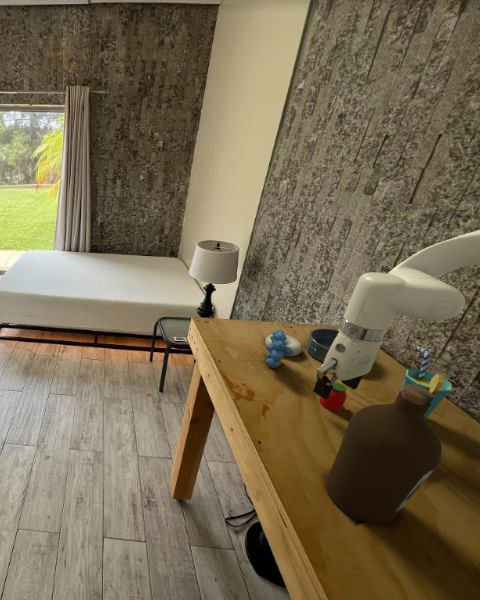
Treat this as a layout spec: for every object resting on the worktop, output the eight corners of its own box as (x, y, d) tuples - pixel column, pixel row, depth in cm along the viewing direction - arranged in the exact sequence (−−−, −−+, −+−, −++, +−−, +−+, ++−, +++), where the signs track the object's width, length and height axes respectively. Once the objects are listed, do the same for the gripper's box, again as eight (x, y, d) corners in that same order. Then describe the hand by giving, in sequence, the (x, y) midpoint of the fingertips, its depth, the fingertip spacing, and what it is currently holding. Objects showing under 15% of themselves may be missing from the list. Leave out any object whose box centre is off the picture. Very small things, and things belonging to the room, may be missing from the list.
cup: (375, 389, 82) (399, 340, 76) (414, 398, 79) (442, 348, 73) (397, 428, 71) (427, 375, 64) (444, 440, 68) (480, 385, 61)
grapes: (289, 382, 85) (301, 345, 80) (260, 375, 88) (271, 338, 83) (286, 359, 95) (298, 324, 89) (261, 353, 97) (270, 319, 92)
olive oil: (317, 503, 56) (370, 394, 46) (324, 462, 64) (372, 360, 53) (398, 546, 50) (482, 432, 39) (396, 495, 57) (466, 387, 46)
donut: (291, 341, 103) (259, 339, 105) (294, 332, 102) (261, 330, 103) (306, 360, 94) (271, 357, 96) (310, 350, 93) (274, 347, 94)
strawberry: (327, 396, 80) (335, 378, 78) (345, 408, 76) (354, 390, 74) (315, 400, 79) (322, 382, 76) (333, 413, 75) (341, 394, 73)
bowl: (327, 337, 105) (331, 324, 103) (379, 363, 92) (386, 349, 90) (293, 347, 100) (297, 333, 98) (343, 375, 87) (349, 360, 85)
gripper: (353, 345, 63) (324, 410, 70) (407, 330, 68) (375, 392, 75) (316, 327, 69) (293, 388, 76) (368, 315, 74) (342, 373, 82)
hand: (334, 390), depth 76 cm, fingers open, 9 cm apart
